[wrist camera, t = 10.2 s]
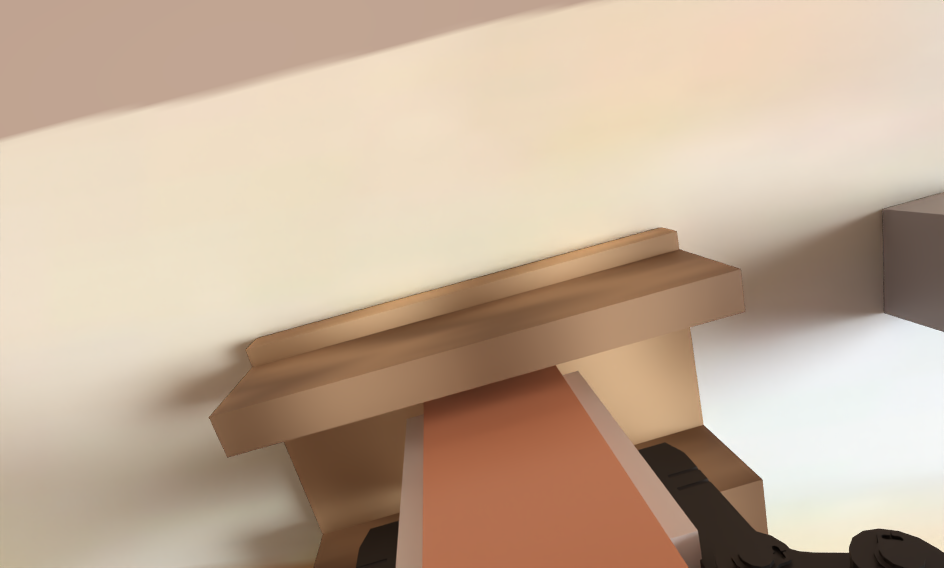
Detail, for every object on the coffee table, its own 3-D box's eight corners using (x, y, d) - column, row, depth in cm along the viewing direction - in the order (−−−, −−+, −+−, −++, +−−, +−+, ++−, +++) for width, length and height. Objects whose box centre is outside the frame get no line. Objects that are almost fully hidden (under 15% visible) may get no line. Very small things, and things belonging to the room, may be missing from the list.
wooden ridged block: (417, 731, 20) (415, 864, 16) (256, 338, 15) (199, 396, 11) (721, 639, 21) (790, 748, 17) (661, 227, 16) (738, 247, 12)
